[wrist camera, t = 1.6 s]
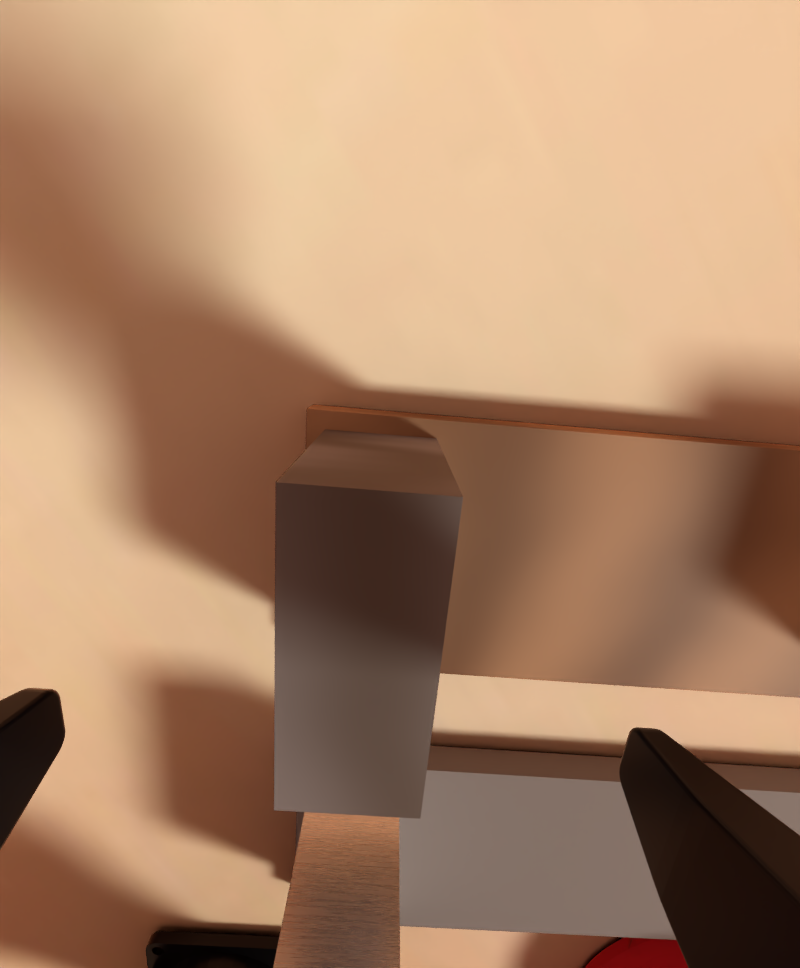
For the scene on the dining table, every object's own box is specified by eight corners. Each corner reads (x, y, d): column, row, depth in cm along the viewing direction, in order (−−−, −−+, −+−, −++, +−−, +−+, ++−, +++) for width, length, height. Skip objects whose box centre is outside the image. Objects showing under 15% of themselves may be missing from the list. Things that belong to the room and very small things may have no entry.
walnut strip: (306, 643, 15) (249, 826, 9) (313, 404, 13) (243, 448, 7) (934, 687, 16) (1249, 883, 10) (1049, 466, 13) (1546, 555, 8)
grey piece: (299, 890, 18) (254, 1137, 13) (303, 737, 16) (251, 953, 10) (814, 917, 19) (995, 1164, 13) (888, 774, 17) (1147, 996, 11)
